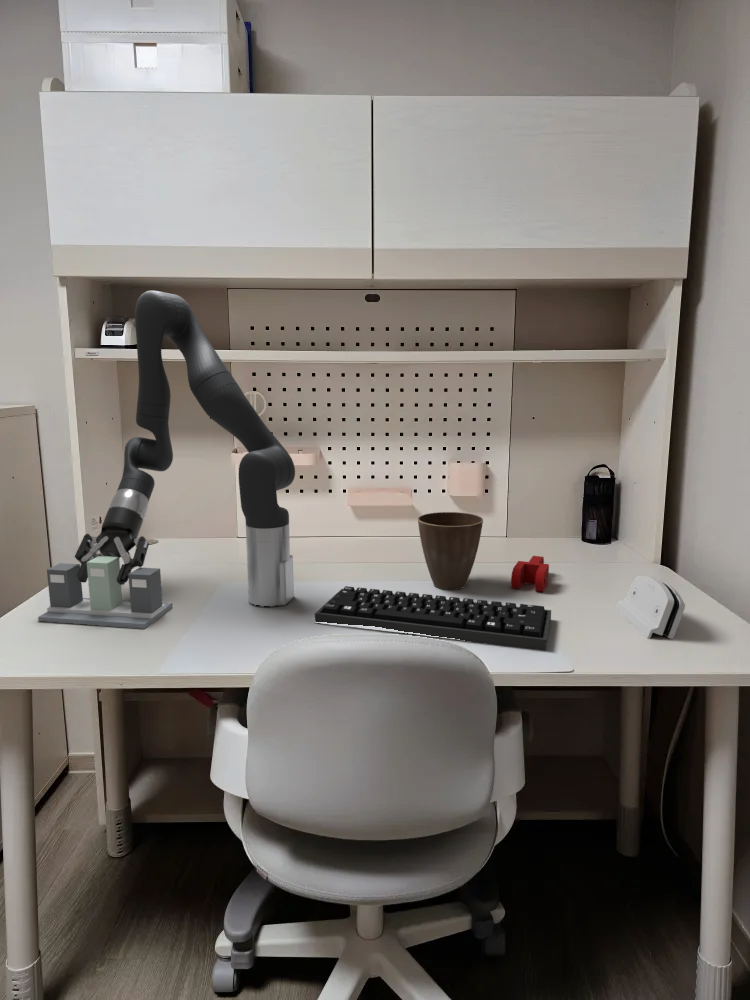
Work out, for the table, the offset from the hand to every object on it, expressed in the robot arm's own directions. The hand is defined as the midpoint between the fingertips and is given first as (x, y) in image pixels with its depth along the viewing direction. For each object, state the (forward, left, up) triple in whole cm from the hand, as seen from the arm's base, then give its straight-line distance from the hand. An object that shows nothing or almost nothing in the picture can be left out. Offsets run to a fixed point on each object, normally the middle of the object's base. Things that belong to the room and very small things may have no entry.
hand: (100, 582), depth 139 cm
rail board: (0, -1, -7) cm, 8 cm away
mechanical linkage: (-88, -38, -8) cm, 96 cm away
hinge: (-110, -16, -8) cm, 111 cm away
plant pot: (-68, -32, -8) cm, 76 cm away
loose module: (0, -1, -6) cm, 6 cm away
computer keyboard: (-67, -9, -8) cm, 68 cm away
